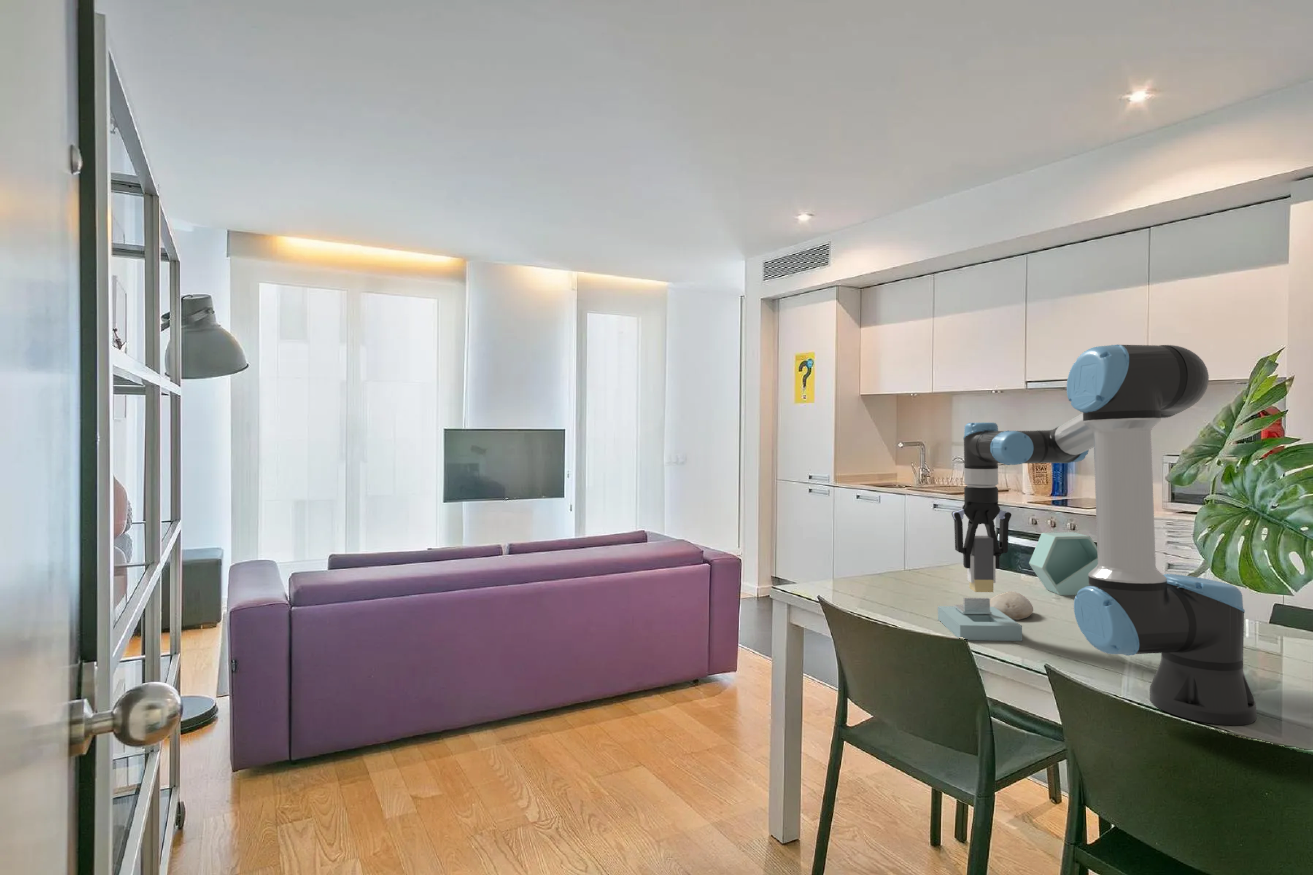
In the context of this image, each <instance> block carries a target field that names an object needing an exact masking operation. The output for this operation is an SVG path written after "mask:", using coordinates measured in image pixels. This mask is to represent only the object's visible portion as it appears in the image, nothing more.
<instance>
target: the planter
mask: <svg viewBox="0 0 1313 875" xmlns="http://www.w3.org/2000/svg"><path fill="white" fill-rule="evenodd" d="M1028 564H1029V565H1030V567H1031V569H1032V570H1033V572H1034V573H1035V575H1036V576H1037V577H1038V579H1039V581H1040V582H1041V583H1042V585H1043V587H1044V588H1045V590H1047V591H1050V592H1052V593H1054V594H1056V595H1058V596H1076V595H1077V593H1078V591H1079V590H1080V589H1082V588H1084V587H1086V586H1089V579H1088V574H1089V572H1091V571H1092V570H1093V569H1094V568H1095V567H1096V566H1097V565H1098V553H1097V545H1096V543H1095V542H1094V540H1093V539H1092V538H1091V536H1090V535H1086V534H1083V533H1078V532H1072V531H1071V532H1066V531H1065V532H1041V534H1040V536H1039V538H1038V542H1037V543H1036V545H1035V548H1034V550H1033V553H1032V554H1031V557H1030V559H1029V562H1028Z"/></svg>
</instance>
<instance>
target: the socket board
mask: <svg viewBox="0 0 1313 875" xmlns="http://www.w3.org/2000/svg"><path fill="white" fill-rule="evenodd" d="M990 611H991V612H992V614H963V613H961V612H960V611H959V610H958V609H956V608H955V607H954V605H953V606H951V605H949V606H948V605H947V606H945V605H937V621H939V622H940V621H941V622H940V623H941V624H942V623H943V624H942V625H943V626H944V627H945V628H946V629H947V630H948V631H949V632H951V633H952V634H953V635H954V636H955V637H956V638H958V637H963V638H965V639H968V640H967V641H999V642H1000V641H1007V642H1011V641H1013V642H1014V641H1015V642H1022V641H1023V626H1022V625H1021V624H1019V622H1017V621H1016V620H1012V619H1011V618H1009V617H1008V616H1007V615H1005V614H1004V613H1002V612H1001V611H999V610H998V609H996V608H995V607H990Z"/></svg>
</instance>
